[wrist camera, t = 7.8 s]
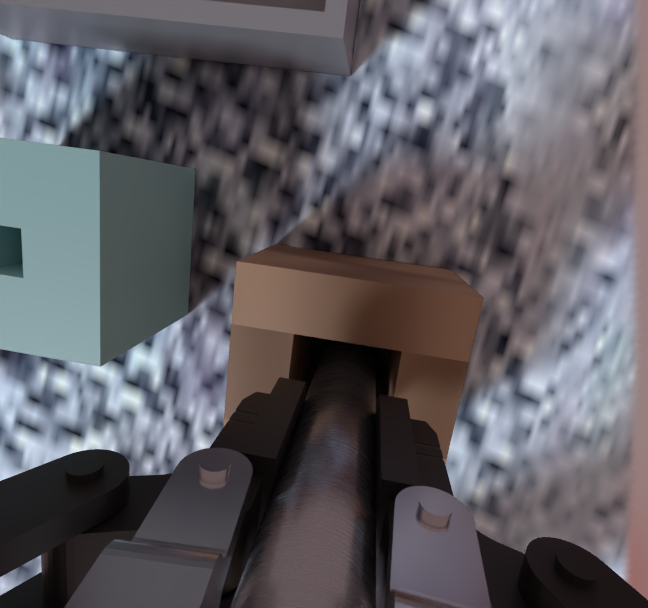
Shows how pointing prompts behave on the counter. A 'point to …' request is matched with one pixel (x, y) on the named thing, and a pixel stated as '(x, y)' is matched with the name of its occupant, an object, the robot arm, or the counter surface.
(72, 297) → the teal block
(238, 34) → the tray
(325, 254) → the walnut block
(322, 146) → the counter surface
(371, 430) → the rod
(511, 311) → the counter surface
